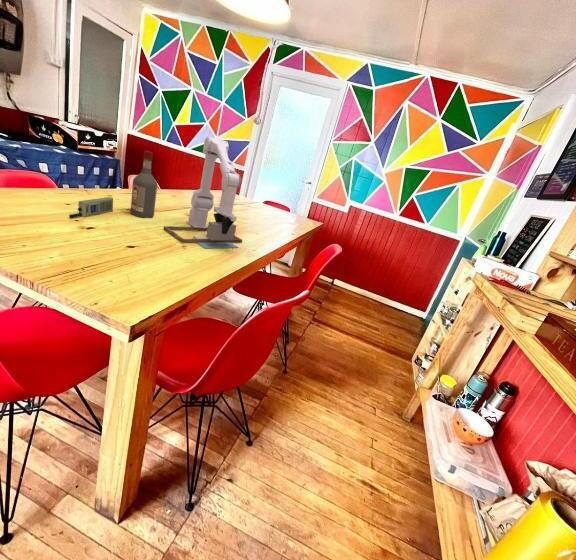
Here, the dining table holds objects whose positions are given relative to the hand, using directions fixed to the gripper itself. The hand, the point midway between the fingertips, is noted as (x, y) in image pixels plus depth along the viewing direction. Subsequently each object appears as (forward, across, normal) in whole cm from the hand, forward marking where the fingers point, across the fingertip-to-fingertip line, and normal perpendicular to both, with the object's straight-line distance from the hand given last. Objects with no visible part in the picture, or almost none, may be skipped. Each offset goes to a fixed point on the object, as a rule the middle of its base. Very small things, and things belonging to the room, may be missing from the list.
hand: (221, 232), depth 142 cm
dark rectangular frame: (+7, -12, 0) cm, 14 cm away
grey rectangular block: (+3, 0, 0) cm, 3 cm away
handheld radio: (+7, -39, -40) cm, 56 cm away
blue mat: (+7, 0, 0) cm, 7 cm away
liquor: (+7, -42, -17) cm, 46 cm away
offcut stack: (+7, -8, 0) cm, 11 cm away
